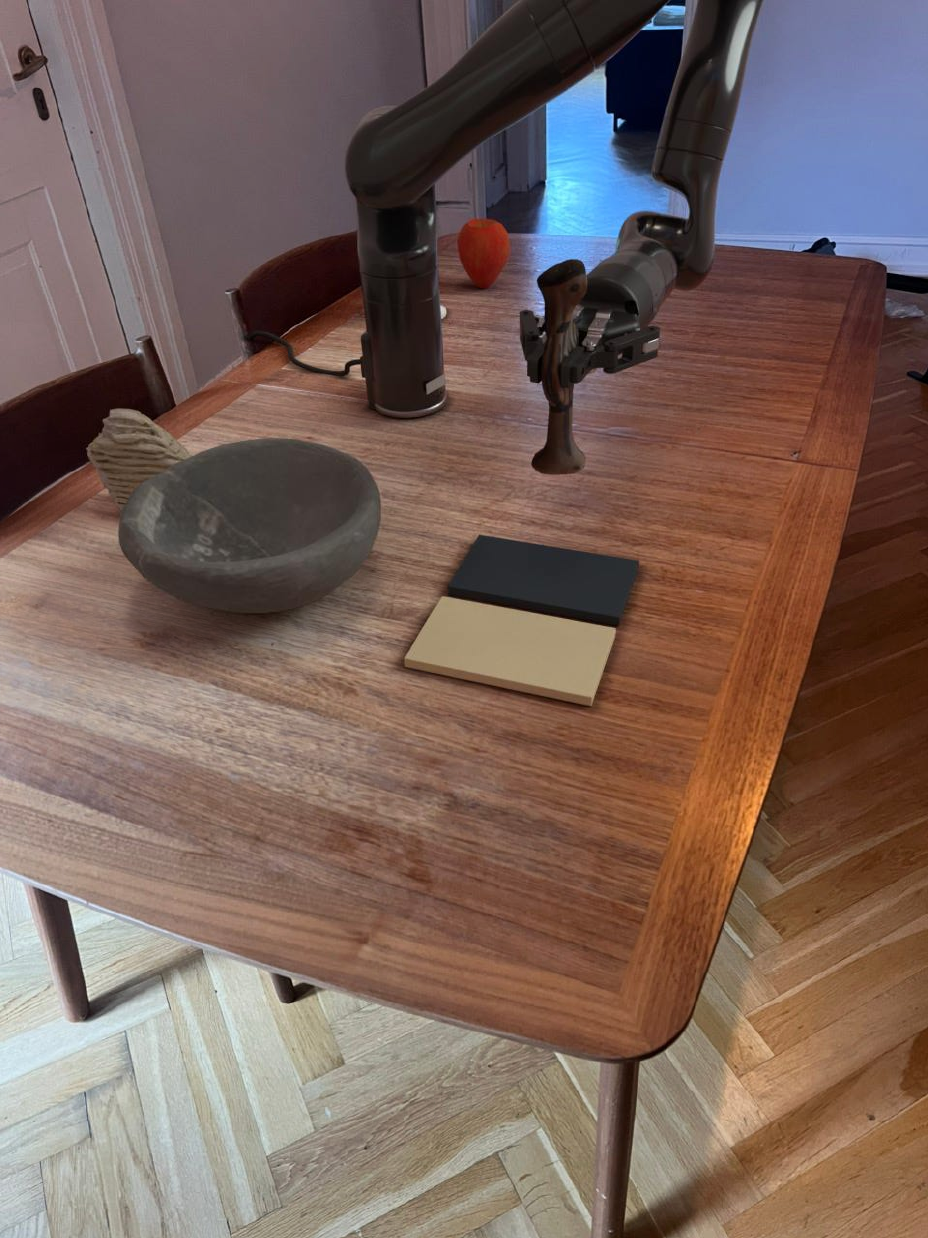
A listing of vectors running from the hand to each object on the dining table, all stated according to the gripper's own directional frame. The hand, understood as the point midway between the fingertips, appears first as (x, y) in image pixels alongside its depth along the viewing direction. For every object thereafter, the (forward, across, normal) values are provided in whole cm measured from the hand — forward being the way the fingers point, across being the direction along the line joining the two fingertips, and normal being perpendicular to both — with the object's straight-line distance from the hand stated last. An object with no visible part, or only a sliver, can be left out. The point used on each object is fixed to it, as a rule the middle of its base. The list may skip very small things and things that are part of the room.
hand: (549, 374), depth 72 cm
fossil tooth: (+5, -42, +20) cm, 47 cm away
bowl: (+12, -24, +20) cm, 33 cm away
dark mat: (+2, 0, +20) cm, 20 cm away
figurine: (-3, 0, +10) cm, 11 cm away
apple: (-72, -40, +20) cm, 85 cm away
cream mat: (+12, +2, +20) cm, 23 cm away
